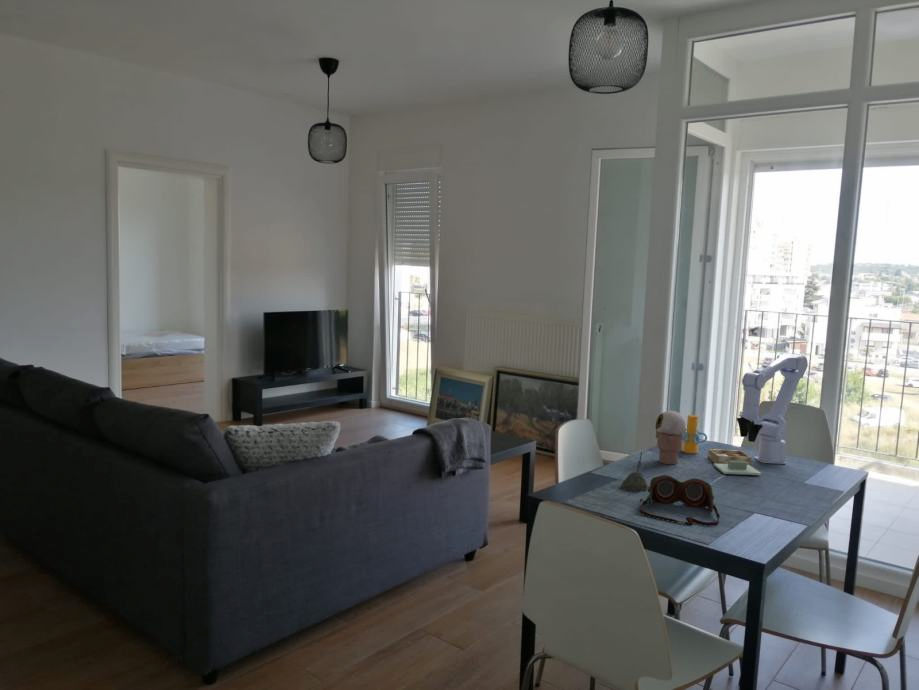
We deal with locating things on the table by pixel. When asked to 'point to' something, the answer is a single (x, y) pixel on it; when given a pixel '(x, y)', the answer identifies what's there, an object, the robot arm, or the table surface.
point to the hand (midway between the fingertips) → (747, 439)
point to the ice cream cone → (669, 435)
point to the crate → (728, 456)
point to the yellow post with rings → (692, 435)
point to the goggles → (680, 496)
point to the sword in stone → (635, 481)
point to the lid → (737, 468)
